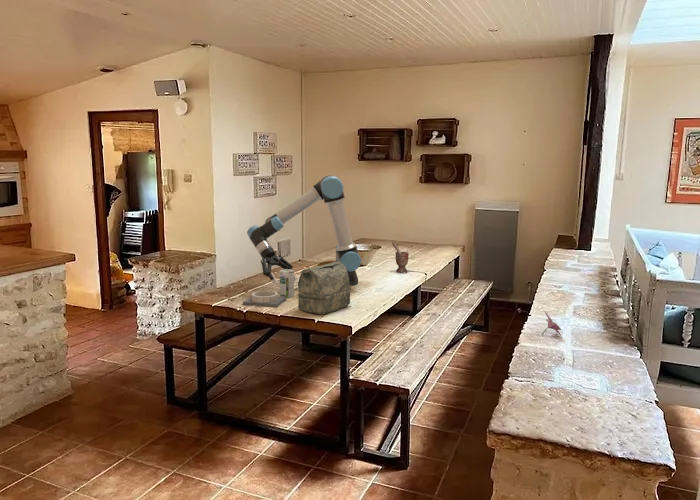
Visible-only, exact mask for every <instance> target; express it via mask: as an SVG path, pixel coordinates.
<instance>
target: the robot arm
mask: <svg viewBox="0 0 700 500" xmlns="http://www.w3.org/2000/svg"><path fill="white" fill-rule="evenodd" d="M345 199H346V197H345V193H344V185H343V182H342V181H341V179H340V178H338V177H337V176H333V175H326V176H324V177H323V178H321V179H320V180H319V181H318V182H317V183H315V184H314V185H313V186H312V187H311V189H310V190H308V191H306V192H305V193H304V194H302V195H300V196H299V197H298V198H296V199H295V200H293V201H291V202H290V203H289V204H288V205H286V206H284V207H283V208H282V209H280V210H278V211H277V212H276V213H274V214H273V215H271V216H269V217H267V218H266V220H264V221H265V222H264V224H262V225H261V226H259V225H256V224H255V225H253V226H250V227H249V228H248V230H247V232H246V233H247V236H248V238H249V240H250V242H251V243H252V244H253V246H254V248H255V249H256V250H257V253H259V255H260V257H261V259H260V263H261V267H262V274H263V276H265V277H267V278H268V279H269V280H271V282H272V283H273V285H274V286H277V285H278V284H280V281H279V280H278V279H277V278H276V276H275V274H274V273H273V272H272V266H279V267H280V268H282V270H283V269H288V270H293V268H294V266H293V265H292V264H291V263H289V262H288V260H286V259H285V258H284V257H283V256H282V255H281V254H279V255H278V256H277V255H276V251H275V250H274V248H273V247H272V245H271V244H270V242H269V241H268V239H269V238H270V237H272V236H273V235H275V233H277V232H279V231H281V230H282V229H284V226H285V225H284V224H286V223H287V222H288V221H289V222H290V221H291V220H292V219H293V218H295V217H296V216H298V215H299V214H300V213H302V212H304V211H305V210H306V209H309V208H310V207H311V206H312V205H315V204H316V203H317V202H318V201H323V202H324V204H325V205H327V206H328V210H329V215H330V218H331V223H332V227H333V232H334V235H335V240H336V242H337V245H336V247H335V262H341V263H342V264H344V266H345V267H346V270H347V273H348V277H349V283H350V286H355V285H358V284H359V277H358V274H357V272H356V271H357V270H358V269H359V267H361V264H362V258H361V255H360V254H359V251H358V250H359V249H358V247H357V244H356V243H354V242H353V238H352V234H351V230H350V225H349V222H348V221H349V220H348V218H347V217H348V216H347V213H346V208H345V205H344V200H345ZM296 280H297V277H296V275H295V274H294V282H295V281H296Z"/></svg>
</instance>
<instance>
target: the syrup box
mask: <svg viewBox="0 0 700 500" xmlns="http://www.w3.org/2000/svg"><path fill="white" fill-rule="evenodd" d="M294 275H295V270H294V269H291V270H288V269H283V268H282V269H281V270H279V297H286V299H290V298H294V296H295V281H294Z"/></svg>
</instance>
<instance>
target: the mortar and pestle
mask: <svg viewBox="0 0 700 500" xmlns="http://www.w3.org/2000/svg"><path fill="white" fill-rule="evenodd" d="M391 244H392V246H393V248H394V249H395V251H396V252H395V253H394V254H395V264H396V265H397V267H398V268H396V271H395V272H396V273H399V274H407V273H408V269H407V268H406V266H407V265H408V262H409V257H410V255H409V253H410V252H407V251H401V250H400V248H399V246H398V244H397V241H395V240H394V241H392V242H391Z"/></svg>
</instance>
